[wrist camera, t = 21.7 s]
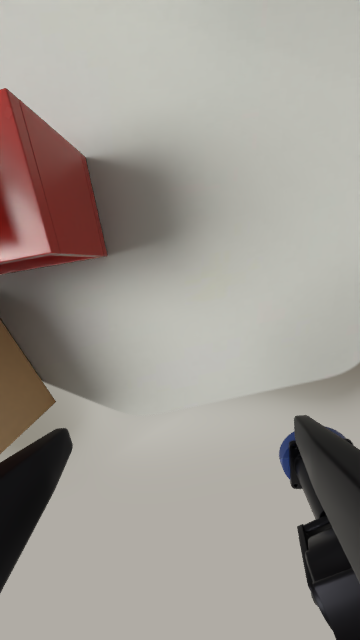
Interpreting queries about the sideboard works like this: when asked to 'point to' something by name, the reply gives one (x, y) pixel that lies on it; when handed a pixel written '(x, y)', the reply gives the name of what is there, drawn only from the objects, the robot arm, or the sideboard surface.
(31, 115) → the cabinet
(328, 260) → the sideboard surface
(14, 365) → the valve door
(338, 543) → the robot arm
